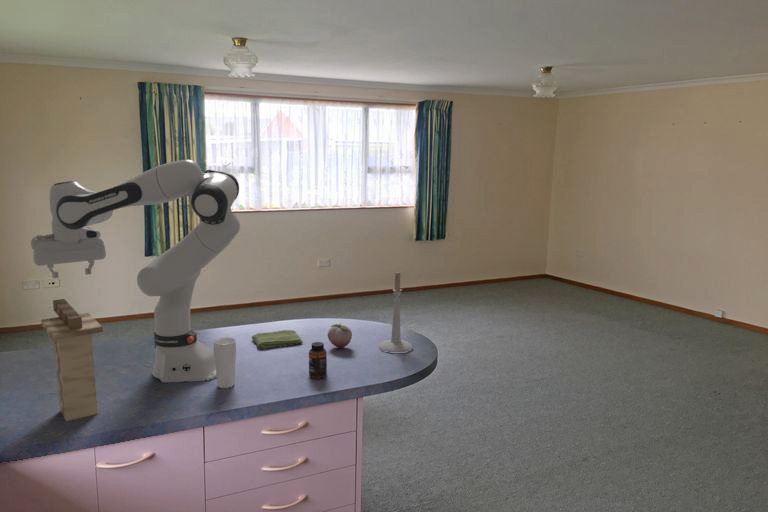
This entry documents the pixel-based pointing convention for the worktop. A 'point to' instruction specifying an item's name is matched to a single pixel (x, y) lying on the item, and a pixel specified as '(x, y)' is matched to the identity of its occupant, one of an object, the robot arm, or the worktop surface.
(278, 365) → the worktop surface
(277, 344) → the washcloth
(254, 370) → the worktop surface
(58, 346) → the stand
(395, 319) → the candlestick
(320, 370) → the supplement bottle
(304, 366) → the worktop surface
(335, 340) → the decorative fruit
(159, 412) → the worktop surface
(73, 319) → the block
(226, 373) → the drinking glass
